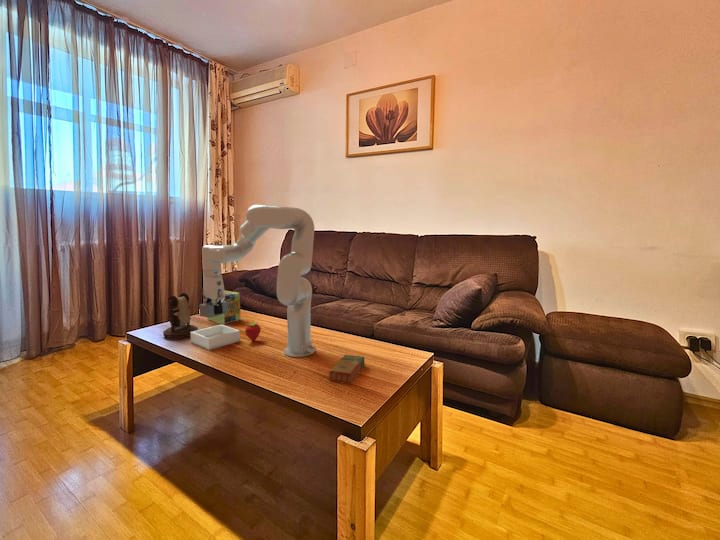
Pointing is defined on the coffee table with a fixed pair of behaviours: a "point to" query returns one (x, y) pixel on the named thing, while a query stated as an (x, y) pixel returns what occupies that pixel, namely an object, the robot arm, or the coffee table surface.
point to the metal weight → (212, 309)
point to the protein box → (229, 309)
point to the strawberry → (253, 331)
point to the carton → (347, 369)
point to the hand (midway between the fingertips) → (214, 312)
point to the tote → (215, 337)
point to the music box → (180, 323)
